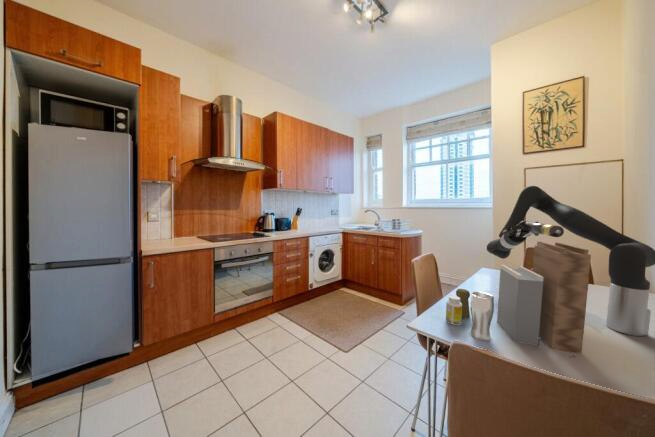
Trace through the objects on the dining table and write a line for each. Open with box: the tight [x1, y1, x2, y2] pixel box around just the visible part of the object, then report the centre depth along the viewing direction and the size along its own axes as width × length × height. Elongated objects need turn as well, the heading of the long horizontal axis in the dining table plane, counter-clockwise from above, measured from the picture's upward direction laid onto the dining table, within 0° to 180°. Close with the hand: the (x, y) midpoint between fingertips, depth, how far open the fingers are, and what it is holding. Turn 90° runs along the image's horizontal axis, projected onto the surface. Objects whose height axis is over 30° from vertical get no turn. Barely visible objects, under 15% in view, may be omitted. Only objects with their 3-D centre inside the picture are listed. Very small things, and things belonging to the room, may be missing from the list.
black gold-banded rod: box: [519, 220, 565, 238], centre depth 95 cm, size 23×4×4 cm, turn 165°
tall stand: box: [532, 241, 592, 354], centre depth 84 cm, size 8×14×34 cm, turn 165°
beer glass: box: [470, 291, 495, 341], centre depth 86 cm, size 7×7×15 cm
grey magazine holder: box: [496, 264, 543, 346], centre depth 88 cm, size 7×14×24 cm, turn 165°
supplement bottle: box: [445, 295, 463, 326], centre depth 96 cm, size 6×6×10 cm
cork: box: [455, 288, 471, 319], centre depth 102 cm, size 6×6×11 cm
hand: (531, 223), depth 100 cm, fingers closed on black gold-banded rod, 4 cm apart
